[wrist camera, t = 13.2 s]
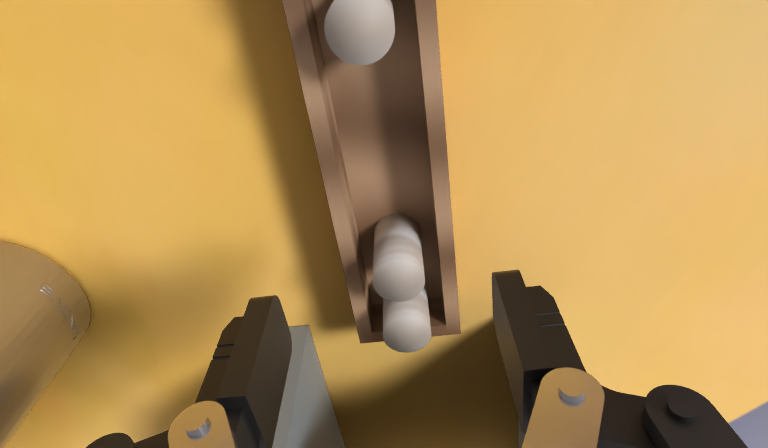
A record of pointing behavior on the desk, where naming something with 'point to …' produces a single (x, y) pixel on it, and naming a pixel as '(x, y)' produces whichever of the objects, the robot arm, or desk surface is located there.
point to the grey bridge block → (310, 401)
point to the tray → (382, 159)
